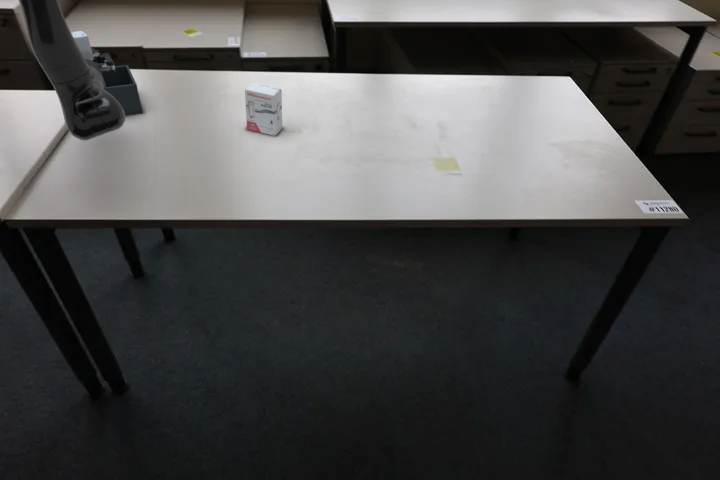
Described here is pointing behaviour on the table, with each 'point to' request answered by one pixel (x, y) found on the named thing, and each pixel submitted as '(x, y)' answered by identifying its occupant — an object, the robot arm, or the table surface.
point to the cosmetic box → (82, 43)
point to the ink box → (263, 108)
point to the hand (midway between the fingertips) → (76, 53)
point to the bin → (123, 89)
